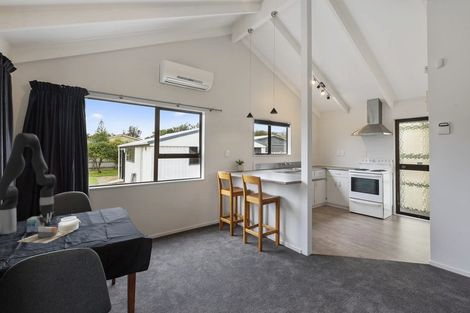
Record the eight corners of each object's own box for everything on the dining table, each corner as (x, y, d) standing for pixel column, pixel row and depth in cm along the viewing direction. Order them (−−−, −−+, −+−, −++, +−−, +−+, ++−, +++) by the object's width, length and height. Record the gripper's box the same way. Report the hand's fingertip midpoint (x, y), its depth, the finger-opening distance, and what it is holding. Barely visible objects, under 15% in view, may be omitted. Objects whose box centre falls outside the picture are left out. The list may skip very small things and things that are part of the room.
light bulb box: (26, 234, 158) (26, 219, 157) (32, 231, 164) (32, 216, 164) (44, 233, 160) (44, 218, 160) (49, 230, 167) (49, 215, 167)
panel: (16, 243, 142) (16, 241, 142) (48, 231, 164) (48, 229, 164) (46, 245, 140) (46, 242, 140) (74, 232, 162) (74, 230, 162)
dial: (32, 237, 147) (32, 229, 147) (46, 232, 157) (46, 224, 157) (49, 238, 146) (49, 230, 146) (62, 233, 156) (62, 225, 156)
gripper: (50, 200, 162) (50, 224, 163) (32, 205, 149) (32, 231, 150) (60, 201, 162) (60, 224, 162) (43, 205, 149) (43, 231, 149)
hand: (47, 227), depth 156 cm, fingers closed
